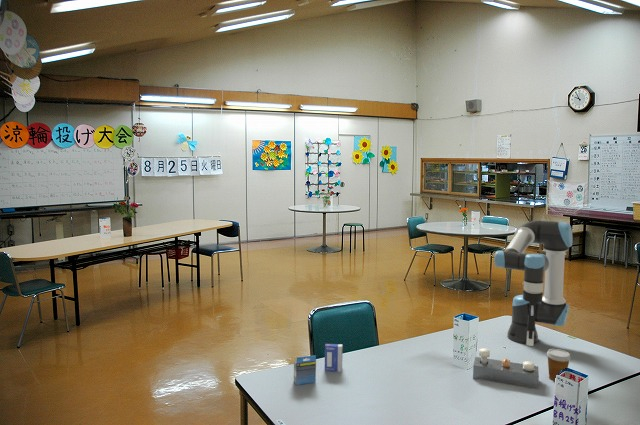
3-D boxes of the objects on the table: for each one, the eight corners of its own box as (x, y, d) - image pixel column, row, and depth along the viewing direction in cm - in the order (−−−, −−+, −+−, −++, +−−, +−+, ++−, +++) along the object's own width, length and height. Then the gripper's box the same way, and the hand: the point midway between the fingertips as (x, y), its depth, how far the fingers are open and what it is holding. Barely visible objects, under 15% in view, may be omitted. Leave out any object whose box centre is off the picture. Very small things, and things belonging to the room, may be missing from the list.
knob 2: (522, 377, 214) (523, 360, 214) (533, 379, 213) (534, 362, 212) (522, 381, 210) (523, 364, 210) (533, 383, 209) (534, 366, 208)
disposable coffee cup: (544, 381, 214) (546, 354, 212) (545, 372, 222) (547, 346, 221) (568, 385, 209) (570, 358, 208) (569, 377, 218) (571, 350, 216)
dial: (502, 363, 217) (502, 357, 216) (509, 365, 215) (510, 359, 215) (501, 366, 214) (501, 360, 213) (509, 368, 212) (509, 362, 212)
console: (474, 369, 225) (475, 356, 224) (537, 379, 215) (538, 366, 214) (472, 378, 215) (473, 365, 215) (537, 389, 206) (538, 375, 205)
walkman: (324, 370, 222) (324, 345, 220) (325, 368, 224) (325, 342, 223) (342, 371, 221) (342, 346, 220) (342, 369, 224) (342, 343, 222)
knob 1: (479, 363, 221) (479, 347, 220) (489, 365, 219) (490, 349, 218) (478, 367, 217) (478, 351, 216) (488, 369, 215) (489, 352, 214)
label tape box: (313, 378, 214) (313, 351, 213) (316, 382, 210) (316, 355, 209) (293, 381, 211) (293, 354, 210) (296, 385, 207) (296, 357, 206)
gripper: (523, 286, 214) (520, 338, 218) (523, 294, 202) (520, 349, 206) (542, 288, 212) (539, 340, 215) (543, 296, 200) (540, 352, 203)
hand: (529, 344), depth 210 cm, fingers closed
